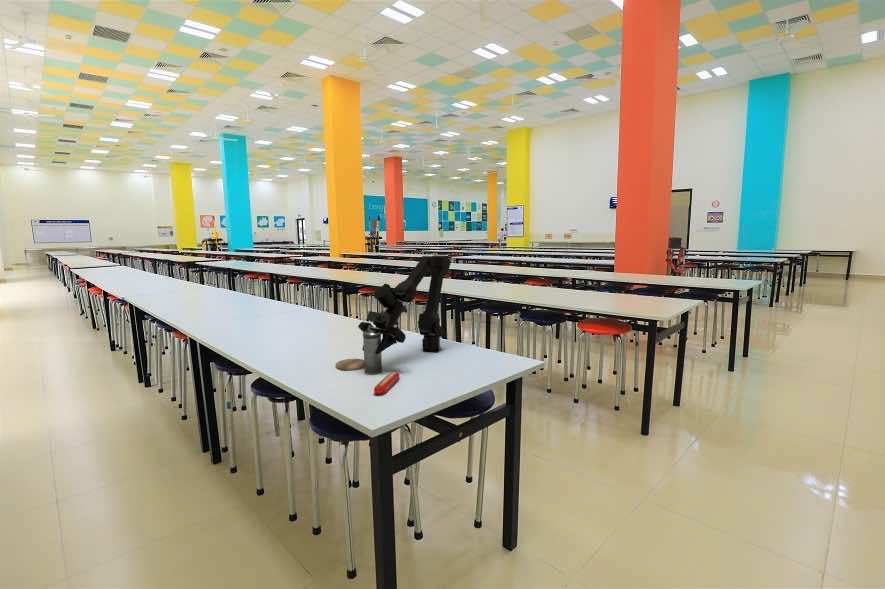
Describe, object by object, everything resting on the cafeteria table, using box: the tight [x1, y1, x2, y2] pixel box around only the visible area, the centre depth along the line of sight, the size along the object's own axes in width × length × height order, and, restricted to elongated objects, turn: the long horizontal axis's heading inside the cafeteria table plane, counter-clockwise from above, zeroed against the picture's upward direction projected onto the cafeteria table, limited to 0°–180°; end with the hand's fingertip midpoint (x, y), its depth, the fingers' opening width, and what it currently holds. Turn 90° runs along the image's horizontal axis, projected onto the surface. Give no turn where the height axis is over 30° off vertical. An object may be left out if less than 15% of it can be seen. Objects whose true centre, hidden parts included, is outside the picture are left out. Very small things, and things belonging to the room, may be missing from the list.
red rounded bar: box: [373, 371, 400, 395], centre depth 134 cm, size 16×4×3 cm, turn 167°
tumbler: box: [362, 330, 383, 375], centre depth 148 cm, size 6×6×14 cm
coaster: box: [335, 358, 365, 372], centre depth 155 cm, size 11×11×1 cm
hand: (369, 352), depth 147 cm, fingers closed on tumbler, 6 cm apart
